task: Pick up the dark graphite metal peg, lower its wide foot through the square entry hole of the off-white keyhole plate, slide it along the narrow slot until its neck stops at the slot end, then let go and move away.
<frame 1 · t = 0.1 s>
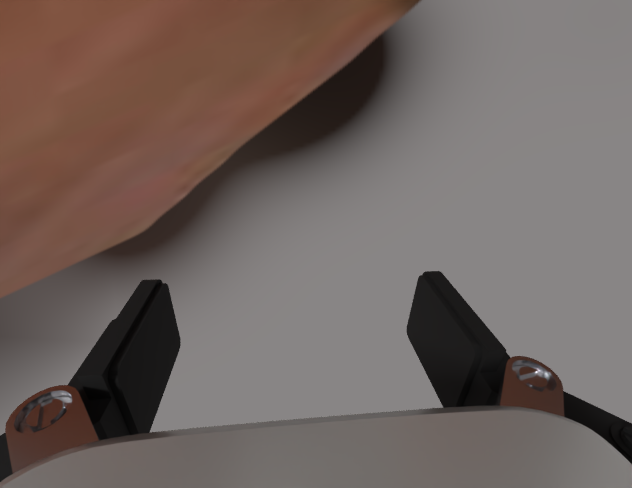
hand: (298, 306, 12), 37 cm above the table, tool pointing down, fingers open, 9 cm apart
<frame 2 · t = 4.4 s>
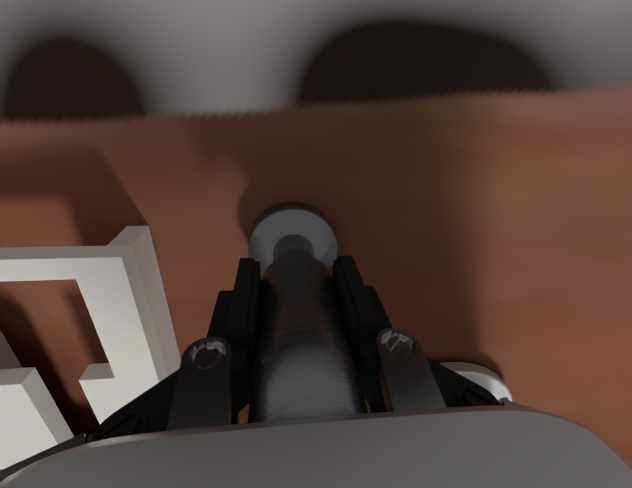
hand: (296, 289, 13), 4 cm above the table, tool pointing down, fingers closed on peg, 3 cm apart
peg: (292, 241, 16), on the table, touching gripper
keyhole plate: (98, 372, 19), on the table
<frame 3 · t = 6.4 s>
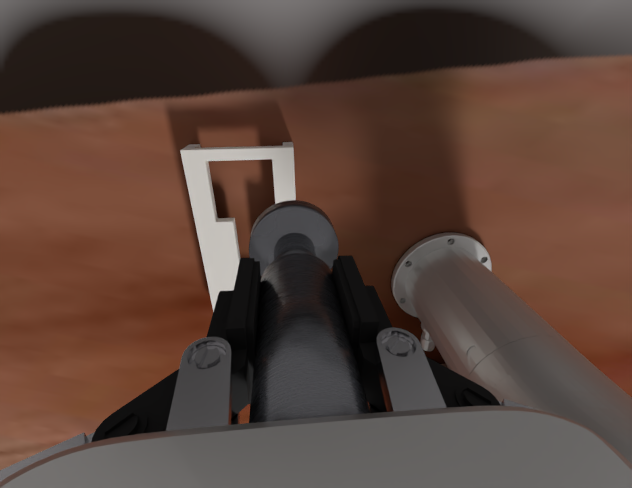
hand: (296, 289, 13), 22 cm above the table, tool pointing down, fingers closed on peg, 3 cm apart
peg: (293, 239, 16), point 17 cm above the table, touching gripper
keyhole plate: (252, 234, 35), on the table
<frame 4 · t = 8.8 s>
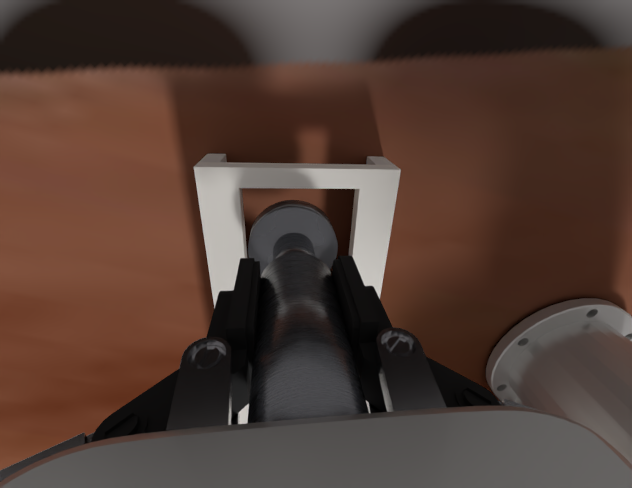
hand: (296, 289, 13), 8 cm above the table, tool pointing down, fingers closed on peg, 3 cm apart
peg: (292, 239, 16), point 3 cm above the table, touching gripper
keyhole plate: (296, 296, 22), on the table
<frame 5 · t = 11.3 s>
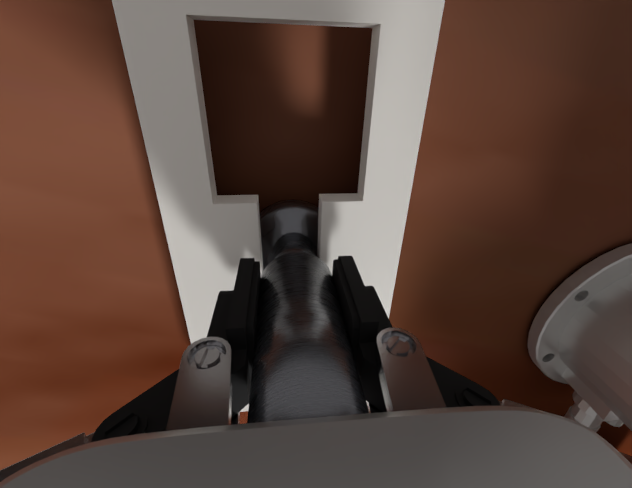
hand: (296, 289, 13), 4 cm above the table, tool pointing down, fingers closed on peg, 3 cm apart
peg: (292, 239, 16), on the table, touching gripper
keyhole plate: (288, 235, 16), on the table
when the fingers open (5 cm above the table, at t = 13.5 s): peg stays where it is, on the table.
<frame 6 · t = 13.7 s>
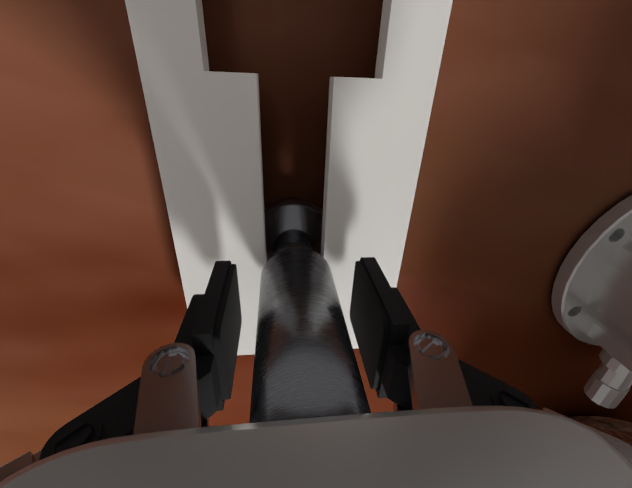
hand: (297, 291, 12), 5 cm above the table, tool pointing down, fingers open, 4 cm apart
peg: (292, 236, 17), on the table
jug: (545, 452, 32), on the table
keyhole plate: (292, 148, 14), on the table
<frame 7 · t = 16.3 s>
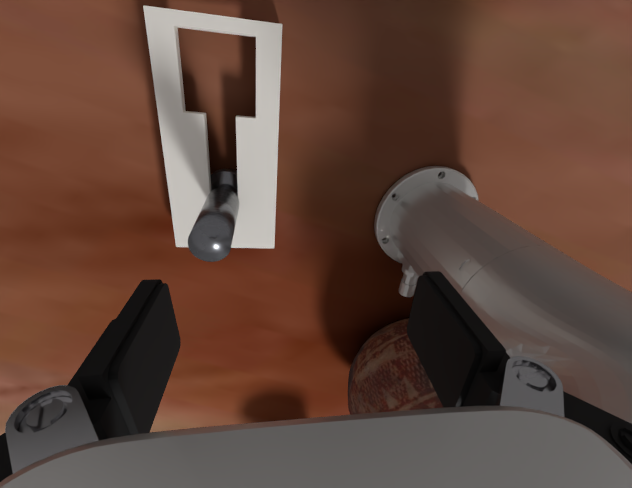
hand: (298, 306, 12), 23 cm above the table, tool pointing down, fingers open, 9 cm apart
peg: (227, 189, 33), on the table
jug: (403, 349, 49), on the table
keyhole plate: (225, 144, 30), on the table
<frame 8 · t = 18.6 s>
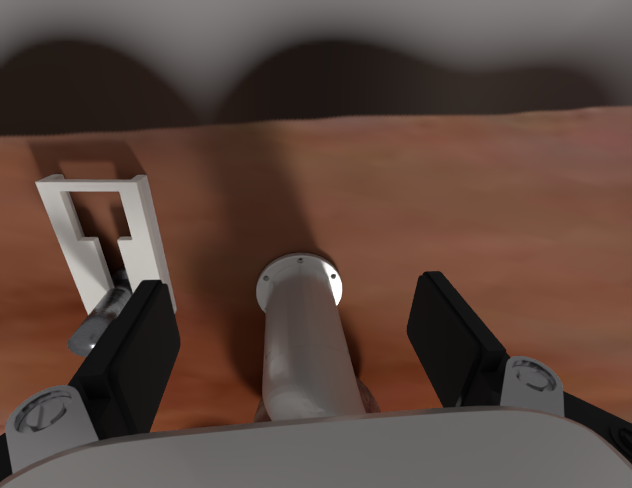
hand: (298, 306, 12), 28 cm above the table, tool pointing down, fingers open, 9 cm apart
peg: (131, 279, 42), on the table
jug: (313, 387, 57), on the table
keyhole plate: (123, 250, 40), on the table
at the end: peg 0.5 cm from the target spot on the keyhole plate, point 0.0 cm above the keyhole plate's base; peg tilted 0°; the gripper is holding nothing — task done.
